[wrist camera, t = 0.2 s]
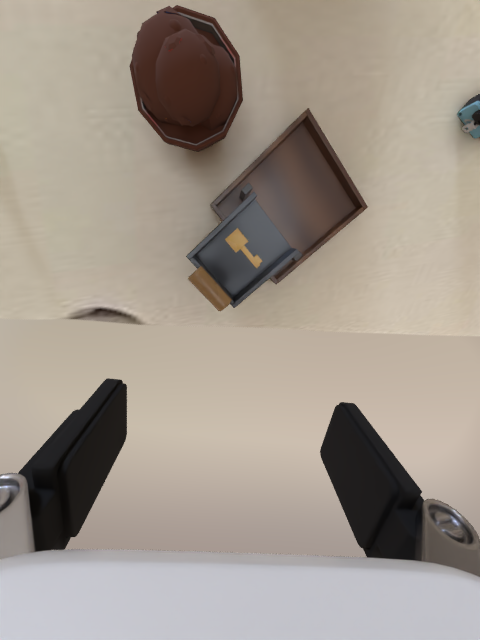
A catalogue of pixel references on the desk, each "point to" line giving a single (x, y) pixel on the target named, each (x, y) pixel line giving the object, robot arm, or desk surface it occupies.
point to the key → (242, 246)
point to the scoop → (239, 256)
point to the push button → (471, 116)
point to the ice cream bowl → (186, 77)
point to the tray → (298, 190)
